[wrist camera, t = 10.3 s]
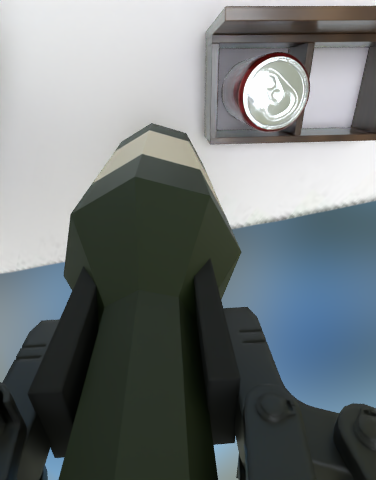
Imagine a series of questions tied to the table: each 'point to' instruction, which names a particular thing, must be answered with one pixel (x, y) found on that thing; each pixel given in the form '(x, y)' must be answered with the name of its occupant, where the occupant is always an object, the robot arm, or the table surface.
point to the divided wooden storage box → (302, 47)
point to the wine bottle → (146, 311)
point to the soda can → (267, 91)
